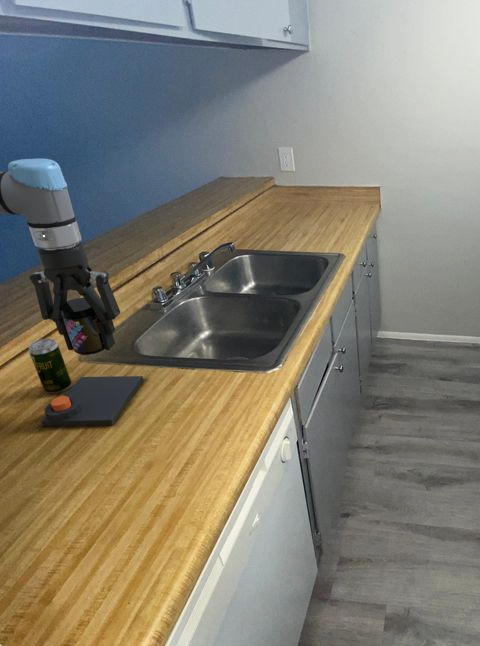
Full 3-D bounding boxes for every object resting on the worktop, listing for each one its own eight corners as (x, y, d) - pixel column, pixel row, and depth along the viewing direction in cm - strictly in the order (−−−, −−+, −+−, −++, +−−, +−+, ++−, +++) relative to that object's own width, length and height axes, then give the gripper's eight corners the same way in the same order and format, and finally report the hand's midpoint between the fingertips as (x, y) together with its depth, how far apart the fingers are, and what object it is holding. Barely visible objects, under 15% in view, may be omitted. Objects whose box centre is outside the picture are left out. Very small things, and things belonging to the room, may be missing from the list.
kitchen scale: (42, 426, 99) (37, 415, 97) (82, 381, 113) (79, 371, 112) (112, 425, 100) (109, 414, 99) (143, 380, 114) (140, 370, 113)
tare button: (50, 412, 99) (47, 405, 98) (58, 402, 102) (56, 396, 101) (66, 411, 99) (63, 405, 98) (74, 402, 102) (71, 395, 101)
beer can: (51, 381, 112) (34, 338, 107) (76, 380, 113) (61, 337, 108) (40, 395, 108) (22, 351, 102) (66, 393, 109) (49, 349, 103)
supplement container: (76, 343, 102) (61, 300, 97) (111, 337, 105) (99, 295, 100) (71, 359, 97) (55, 314, 92) (109, 352, 100) (96, 308, 95)
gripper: (-10, 250, 86) (32, 356, 97) (104, 251, 88) (132, 356, 98) (17, 237, 92) (53, 338, 103) (122, 238, 94) (147, 337, 105)
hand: (92, 346), depth 101 cm, fingers closed on supplement container, 7 cm apart
